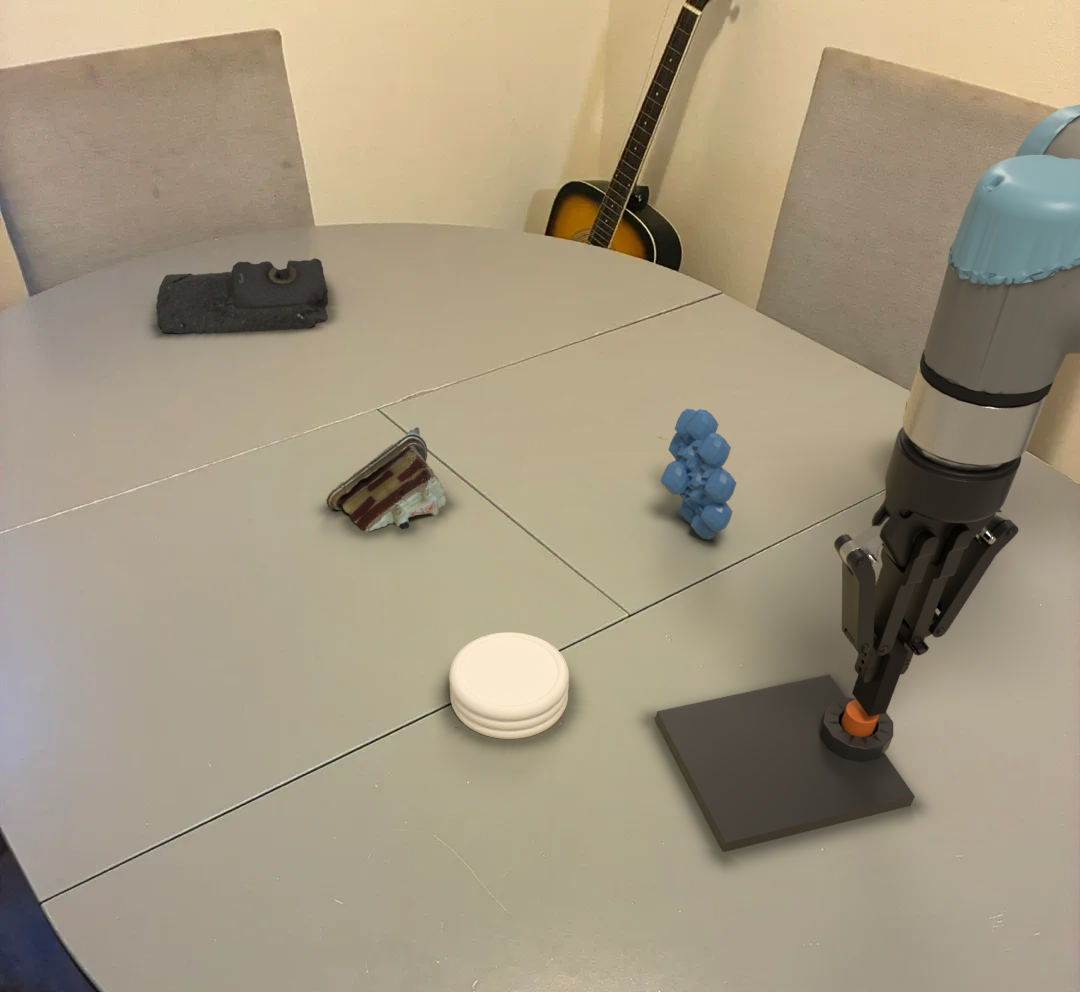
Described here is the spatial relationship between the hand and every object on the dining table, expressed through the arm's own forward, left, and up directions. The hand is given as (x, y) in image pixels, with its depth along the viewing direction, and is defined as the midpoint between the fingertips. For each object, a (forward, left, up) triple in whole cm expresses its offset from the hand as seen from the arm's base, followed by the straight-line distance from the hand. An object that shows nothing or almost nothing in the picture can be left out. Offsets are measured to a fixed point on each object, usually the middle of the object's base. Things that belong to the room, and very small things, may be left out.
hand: (868, 702), depth 81 cm
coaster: (+26, -13, -6) cm, 29 cm away
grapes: (+2, -32, -6) cm, 33 cm away
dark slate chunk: (+40, -92, -6) cm, 100 cm away
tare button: (0, 0, -3) cm, 3 cm away
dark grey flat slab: (+7, 0, -5) cm, 9 cm away
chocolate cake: (+30, -42, -6) cm, 52 cm away
